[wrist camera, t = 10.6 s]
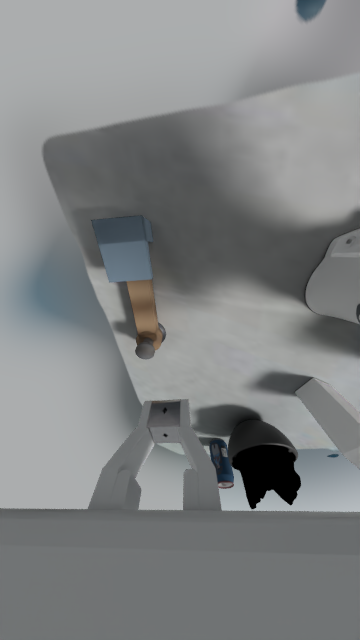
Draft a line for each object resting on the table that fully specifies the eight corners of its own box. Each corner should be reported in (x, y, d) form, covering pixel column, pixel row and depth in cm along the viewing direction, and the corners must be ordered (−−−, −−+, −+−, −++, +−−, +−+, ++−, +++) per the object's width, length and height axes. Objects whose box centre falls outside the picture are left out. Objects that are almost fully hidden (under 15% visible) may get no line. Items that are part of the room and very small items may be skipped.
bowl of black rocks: (284, 405, 47) (339, 493, 31) (271, 437, 56) (309, 517, 40) (222, 407, 48) (244, 493, 32) (220, 438, 57) (235, 517, 41)
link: (163, 343, 36) (160, 362, 30) (141, 344, 36) (133, 363, 30) (152, 251, 26) (143, 253, 21) (122, 253, 27) (105, 255, 21)
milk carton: (293, 391, 44) (363, 481, 27) (312, 377, 41) (403, 468, 24) (310, 398, 45) (387, 488, 28) (330, 384, 42) (428, 476, 25)
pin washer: (153, 315, 33) (153, 315, 33) (171, 336, 36) (171, 337, 35) (131, 329, 35) (131, 330, 35) (149, 349, 37) (149, 349, 37)
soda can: (220, 447, 61) (228, 490, 50) (205, 444, 60) (210, 487, 49) (229, 440, 58) (239, 484, 47) (214, 436, 57) (221, 480, 46)
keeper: (111, 225, 25) (91, 220, 20) (150, 222, 25) (141, 215, 19) (123, 275, 29) (109, 282, 24) (157, 273, 29) (151, 279, 23)
